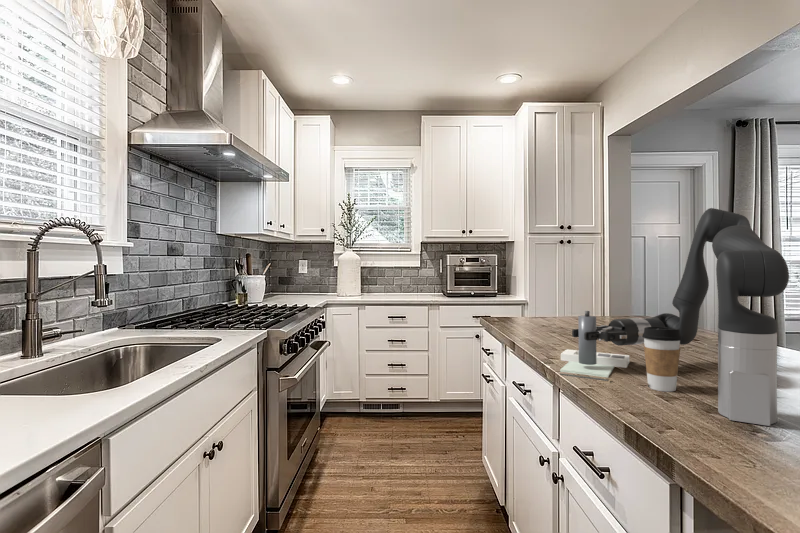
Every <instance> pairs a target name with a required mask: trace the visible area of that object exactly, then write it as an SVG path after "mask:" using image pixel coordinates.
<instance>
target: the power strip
mask: <svg viewBox="0 0 800 533" xmlns="http://www.w3.org/2000/svg"><path fill="white" fill-rule="evenodd" d="M596 355H597V364H600V365H609V366H614V368H615V367H616V368H624V369H625V368H628V366H629V364H630V354H629V355H628V354H620V353H619V354H618V353H611V352H610V353H609V352H598V351H596ZM560 361H563V362H564V361H565V362H569V361H573V362H579V349H578V350H577V349H568V348H567V349H565V350H564V351H562V352H561V353H560Z"/></svg>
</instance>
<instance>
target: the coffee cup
mask: <svg viewBox="0 0 800 533" xmlns="http://www.w3.org/2000/svg"><path fill="white" fill-rule="evenodd" d="M642 337H643V338H644V343H643V344H644V345H643V351H644V352H643V353H644V359H645V360H644V361H645V369H646V378H647V379H646V380H647V387H648V389H651V390H653V391H659V392H665V393H666V392H667V393H669V392H675V391H676V390H677V384H678V374H679V365H680V355H681V348H680V345H681V344H680V340H682V337H681V336H680V330H679V329H674V328H667V327H645V328H644V333H643V336H642Z"/></svg>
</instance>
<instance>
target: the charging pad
mask: <svg viewBox="0 0 800 533" xmlns="http://www.w3.org/2000/svg"><path fill="white" fill-rule="evenodd" d="M614 369H615V366H609V365H600V364H595V365H586V364H581V363H579V362H573V361H567V363H566V364H564V365H563V366H562V367H561V368H560V370H559V372H561V373H559V375H560V376H566V377H571V378H572V377H573V378H580V379H587V380H588V379H589V380H596V381H605V382H609V380H610V379H608V378H609V376H610V375H611V374H612V372H613V370H614ZM566 373H567V374H566ZM576 374H577V375H576ZM583 375H586V376H583ZM592 376H594V377H592ZM599 377H600V378H599ZM606 378H607V379H606Z"/></svg>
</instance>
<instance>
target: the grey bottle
mask: <svg viewBox="0 0 800 533" xmlns="http://www.w3.org/2000/svg"><path fill="white" fill-rule="evenodd" d="M590 313H591V312H590V310H584V315H581V314H580V315H578V320H577V321H578V323H577V324H578V328H577V329H578V336H579V337H578V350H579V363H581V364H586V365H595V364H597V355H596V352H597V340H585V339H584V333H585V332H594V331H596V326H597V316H596V315H590Z"/></svg>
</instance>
